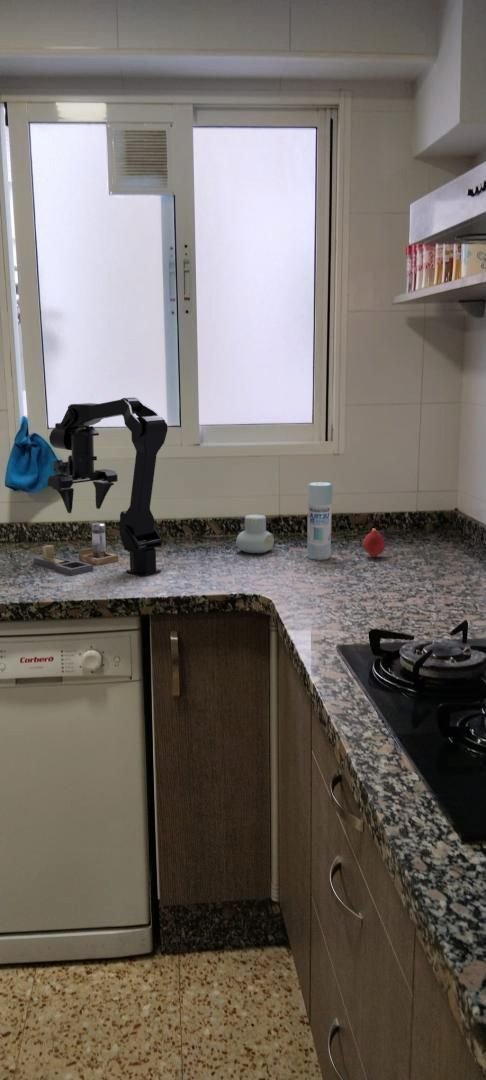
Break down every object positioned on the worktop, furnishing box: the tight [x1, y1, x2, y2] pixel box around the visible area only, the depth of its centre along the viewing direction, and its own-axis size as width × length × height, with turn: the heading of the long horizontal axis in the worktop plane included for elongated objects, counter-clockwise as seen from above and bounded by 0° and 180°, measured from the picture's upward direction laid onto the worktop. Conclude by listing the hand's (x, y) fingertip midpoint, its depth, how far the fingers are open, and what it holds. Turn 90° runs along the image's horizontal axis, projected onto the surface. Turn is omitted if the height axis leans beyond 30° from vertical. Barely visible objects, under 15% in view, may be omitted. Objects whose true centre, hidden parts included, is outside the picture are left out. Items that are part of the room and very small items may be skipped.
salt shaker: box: [91, 522, 107, 558], centre depth 231 cm, size 4×4×10 cm
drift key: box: [42, 544, 66, 564], centre depth 227 cm, size 7×2×4 cm, turn 46°
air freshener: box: [235, 514, 275, 555], centre depth 243 cm, size 11×8×10 cm
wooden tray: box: [78, 546, 119, 566], centre depth 232 cm, size 8×7×3 cm
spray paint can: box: [306, 481, 333, 561], centre depth 235 cm, size 6×6×20 cm
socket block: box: [33, 555, 94, 576], centre depth 226 cm, size 18×7×2 cm, turn 46°
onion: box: [362, 528, 386, 558], centre depth 236 cm, size 6×6×8 cm
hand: (83, 510), depth 232 cm, fingers open, 9 cm apart
